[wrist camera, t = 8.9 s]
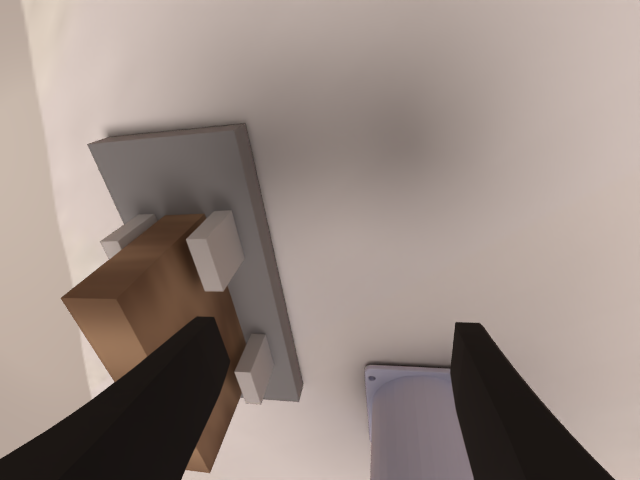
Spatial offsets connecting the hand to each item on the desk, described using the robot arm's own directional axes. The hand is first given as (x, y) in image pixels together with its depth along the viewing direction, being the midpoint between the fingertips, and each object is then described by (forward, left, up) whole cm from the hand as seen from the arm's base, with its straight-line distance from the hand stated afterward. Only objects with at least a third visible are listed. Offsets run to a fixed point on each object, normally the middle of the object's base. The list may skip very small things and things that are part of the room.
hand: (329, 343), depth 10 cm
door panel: (-5, +9, -8) cm, 13 cm away
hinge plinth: (-5, +9, -9) cm, 14 cm away
